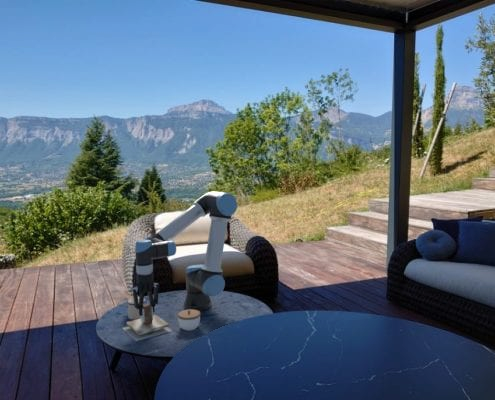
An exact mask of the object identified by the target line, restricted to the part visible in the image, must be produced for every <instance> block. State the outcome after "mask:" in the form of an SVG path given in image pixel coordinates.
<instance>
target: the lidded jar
mask: <svg viewBox="0 0 495 400" xmlns="http://www.w3.org/2000/svg"><path fill="white" fill-rule="evenodd" d="M177 320H178V325H179V327H180V329H182V330H184V331H189V332H190V331H194V330H195V329H197V328H198V327H199V326H200V323H201V322H200V321H201V311H198V310H193V309H189V310H186V309H183V310H181V311H179V312H178V313H177Z"/></svg>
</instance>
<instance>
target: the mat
mask: <svg viewBox="0 0 495 400" xmlns="http://www.w3.org/2000/svg"><path fill="white" fill-rule="evenodd" d="M121 328H122V330H123V331H124V332H125V333H126V334H128V336H129V337H131V339H133V340H134V341H135V342H138V341H142V340H145V339H149V338H153V337H156V336H159V335H163V334H166V333H169V332H172V331H173V330H172V329H171V328H170V327H165V328H162V329H159V330H155V331H152V332H148V333H145V334H141V335H138V334H136V333H135V332H134V331H133V330H132V329H131V328H130V327H129V326H128V325H127V326H124V327H121Z"/></svg>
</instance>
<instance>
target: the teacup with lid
mask: <svg viewBox="0 0 495 400" xmlns="http://www.w3.org/2000/svg"><path fill="white" fill-rule="evenodd" d="M139 297H140V296H138V304H139ZM126 303H127V305H126V306H127V313H128V315H127V317H128V319H129V320H131V321H133V320H137V319H141V316H140V315H139V309H136V308H135V306H134V298H133V297H132V298H129V299H128V300H127V302H126ZM143 304H146V298H144V301H143Z"/></svg>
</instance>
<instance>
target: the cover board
mask: <svg viewBox="0 0 495 400" xmlns="http://www.w3.org/2000/svg"><path fill="white" fill-rule="evenodd" d="M143 309H144V314H145V322H144V323H143V322H142V321H141V319H137V320H130V321H126V326H127V327H128V326H129V327H130V328H131V329H132V330H133V331H134V332H135V333H136V334H138V335H141V334H145V333H148V332H152V331H155V330H159V329H162V328H165V327H168V328H170V327H169V326H170V324H169V323H168V322H166V321H165V320H164V319H162V318H161V317H160V316H159V315H157V314H153V320H152V306H151V305H150V302H147V303H145V304H143Z"/></svg>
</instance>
